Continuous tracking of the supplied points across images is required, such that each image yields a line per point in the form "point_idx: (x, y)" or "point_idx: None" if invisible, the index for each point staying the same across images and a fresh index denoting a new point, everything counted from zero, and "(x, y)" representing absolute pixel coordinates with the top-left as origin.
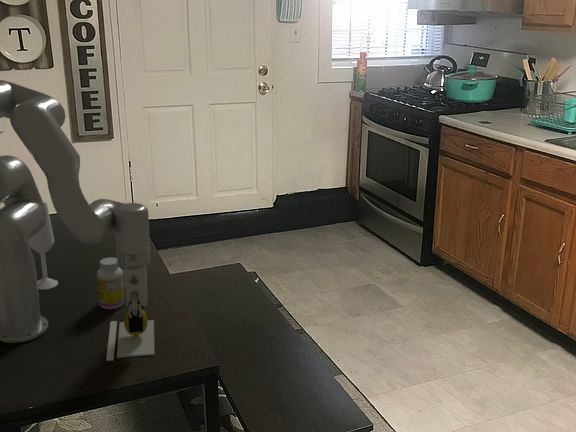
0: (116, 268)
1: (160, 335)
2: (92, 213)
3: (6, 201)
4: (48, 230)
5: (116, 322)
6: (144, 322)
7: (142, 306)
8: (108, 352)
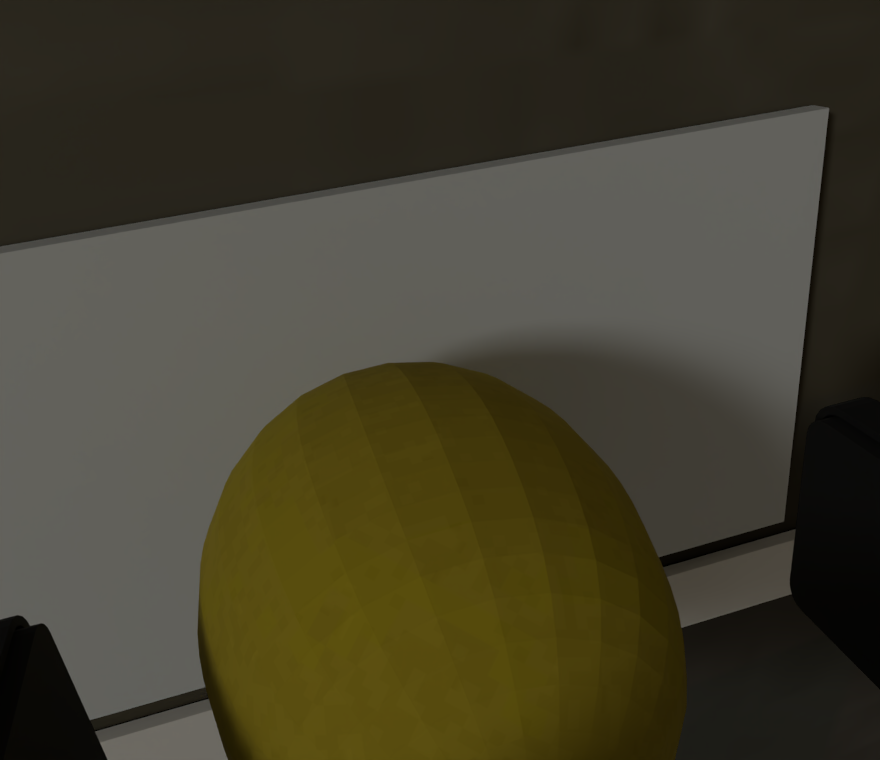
0: None
1: (275, 85)
2: None
3: None
4: None
5: None
6: (571, 450)
7: (16, 730)
8: (689, 615)
